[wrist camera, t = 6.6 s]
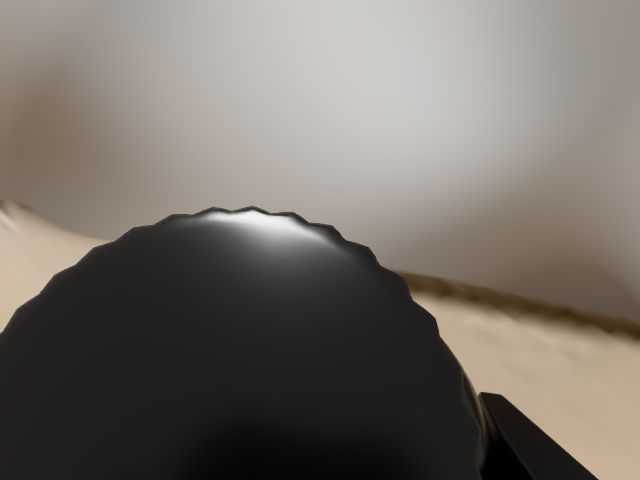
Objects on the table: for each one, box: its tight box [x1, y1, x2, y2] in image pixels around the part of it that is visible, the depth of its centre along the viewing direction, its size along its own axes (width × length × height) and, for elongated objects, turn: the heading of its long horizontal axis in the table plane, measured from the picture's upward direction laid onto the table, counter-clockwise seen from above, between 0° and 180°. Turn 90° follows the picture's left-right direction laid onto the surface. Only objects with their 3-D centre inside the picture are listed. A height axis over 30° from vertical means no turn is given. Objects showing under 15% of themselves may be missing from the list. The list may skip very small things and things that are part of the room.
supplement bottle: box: [0, 206, 501, 480], centre depth 8 cm, size 7×7×12 cm
